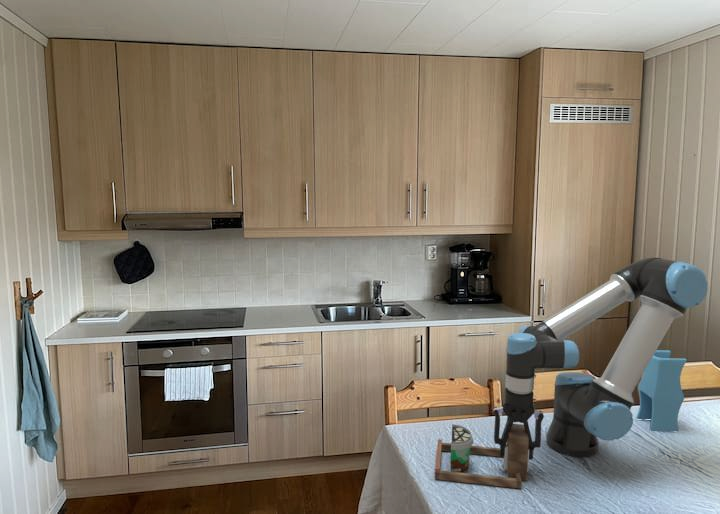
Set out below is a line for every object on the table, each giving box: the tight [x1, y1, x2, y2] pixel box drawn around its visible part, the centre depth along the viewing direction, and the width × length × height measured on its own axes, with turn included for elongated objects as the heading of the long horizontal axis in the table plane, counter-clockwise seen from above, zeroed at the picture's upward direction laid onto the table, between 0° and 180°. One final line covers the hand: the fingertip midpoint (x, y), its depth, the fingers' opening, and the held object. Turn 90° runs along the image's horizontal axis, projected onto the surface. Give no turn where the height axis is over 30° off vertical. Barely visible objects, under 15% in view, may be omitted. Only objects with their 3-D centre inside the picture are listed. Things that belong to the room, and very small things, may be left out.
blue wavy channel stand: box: [635, 349, 687, 432], centre depth 174 cm, size 10×10×25 cm
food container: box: [450, 423, 474, 473], centre depth 147 cm, size 12×6×10 cm, turn 168°
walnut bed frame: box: [434, 423, 529, 489], centre depth 146 cm, size 25×17×12 cm
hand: (515, 467), depth 145 cm, fingers closed on walnut bed frame, 5 cm apart
